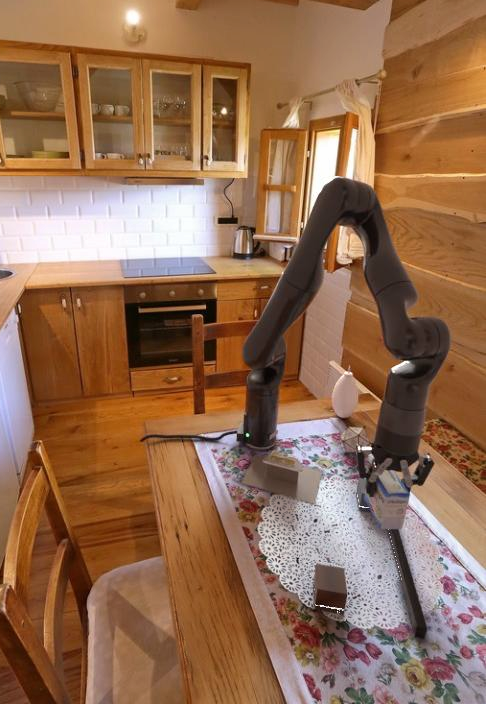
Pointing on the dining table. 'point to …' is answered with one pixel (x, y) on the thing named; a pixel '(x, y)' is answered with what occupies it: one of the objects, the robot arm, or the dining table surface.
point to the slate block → (361, 495)
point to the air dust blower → (345, 395)
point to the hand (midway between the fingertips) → (385, 495)
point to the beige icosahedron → (354, 438)
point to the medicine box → (388, 501)
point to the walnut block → (329, 588)
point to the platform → (283, 477)
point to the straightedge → (408, 585)
